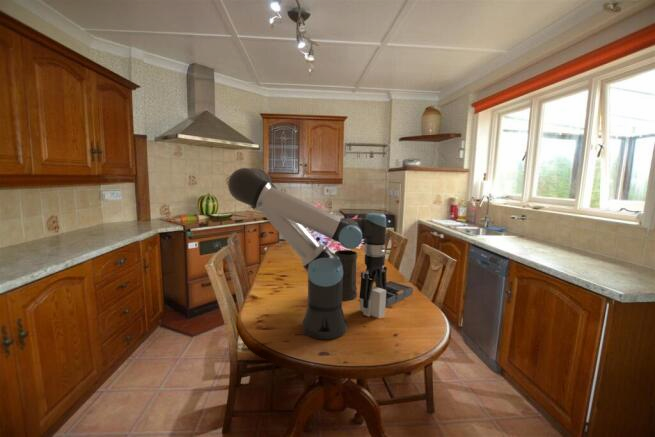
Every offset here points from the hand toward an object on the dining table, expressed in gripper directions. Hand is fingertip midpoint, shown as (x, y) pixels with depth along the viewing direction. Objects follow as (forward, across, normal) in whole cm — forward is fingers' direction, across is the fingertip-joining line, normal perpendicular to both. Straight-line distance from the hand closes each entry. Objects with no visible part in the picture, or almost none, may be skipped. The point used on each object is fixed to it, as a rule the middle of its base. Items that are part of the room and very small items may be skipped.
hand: (372, 312), depth 117 cm
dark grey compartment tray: (0, +18, +5) cm, 19 cm away
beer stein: (0, +7, +20) cm, 21 cm away
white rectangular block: (0, 0, 0) cm, 0 cm away
